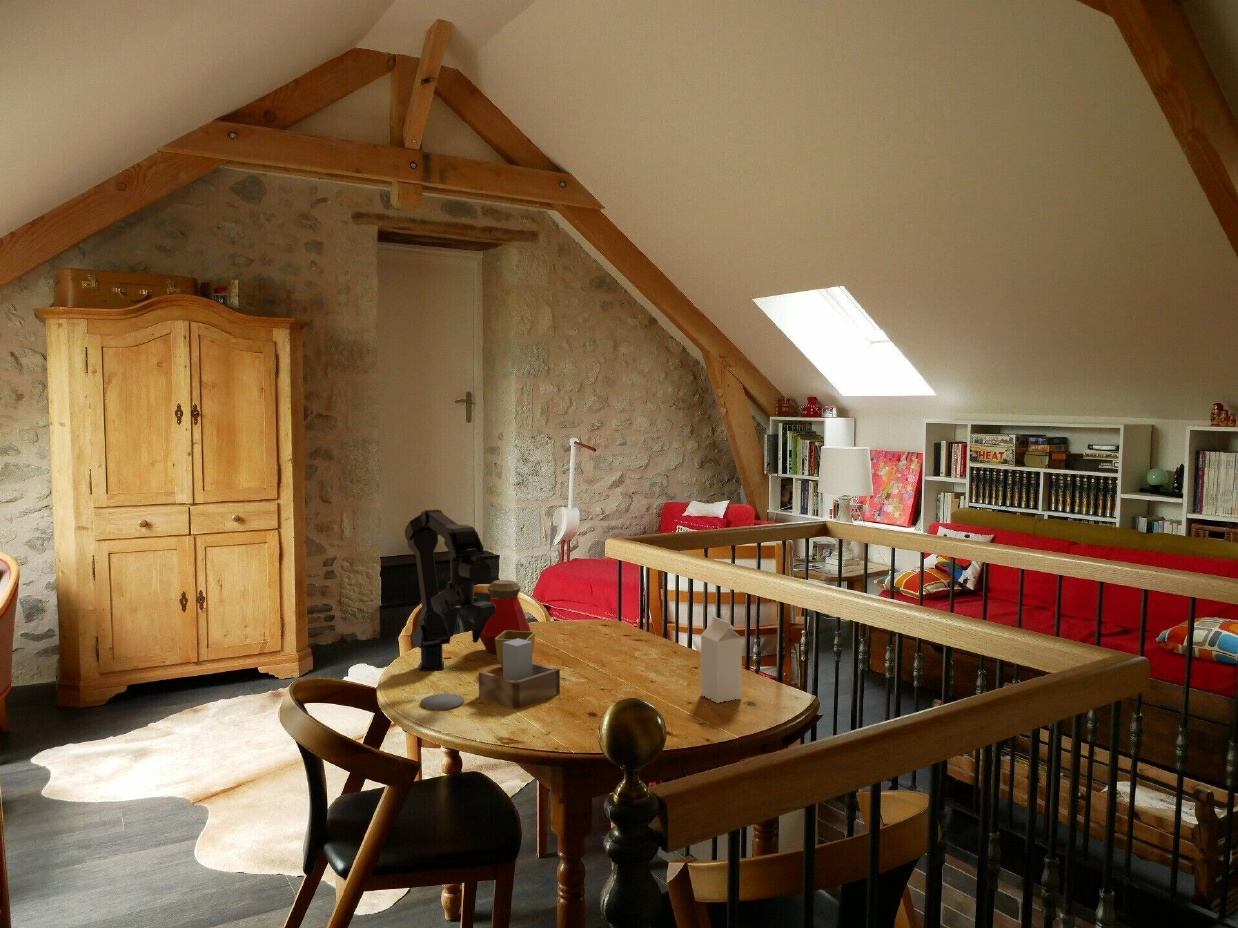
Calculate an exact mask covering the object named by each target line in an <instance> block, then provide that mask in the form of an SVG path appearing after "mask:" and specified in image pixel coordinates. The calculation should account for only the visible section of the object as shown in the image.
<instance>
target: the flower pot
mask: <svg viewBox="0 0 1238 928" xmlns="http://www.w3.org/2000/svg"><path fill="white" fill-rule="evenodd" d="M535 637H536V631H530V632H526V631H504V632H503V633H501V634H500V635H499V636H498V637H496V638H495V645H496V652H497V655H496V657H497V660H498V663H499V664H500V667H502V669H503V642H506V641H510V640H514V639H518V638H519V639H523V640H527V641H531V642H532V654H533V652H534V646H535V639H536V638H535Z"/></svg>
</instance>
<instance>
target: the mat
mask: <svg viewBox="0 0 1238 928" xmlns="http://www.w3.org/2000/svg"><path fill="white" fill-rule="evenodd" d="M464 704H465V698H464V697H463V696H461V695H459V694H453V693H438V694H434V695H430V696H425V697H424V698H422V699H421V700H420V706H421V707H422V708H423V707H424V708H423V709H425V708H428V709H427V710H429V709H431V710H430V711H448V709H449V710H453V708H454V709H456V708H460V707H461V706H463V705H464Z"/></svg>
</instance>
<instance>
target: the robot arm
mask: <svg viewBox="0 0 1238 928" xmlns="http://www.w3.org/2000/svg"><path fill="white" fill-rule="evenodd" d="M439 536H440V537H442V538H443V540H444V542H443V544H444V546H445V547H446V549H447V550H448V552H449V553H448V554H447V558H449V564H450V566H449V567H450V568H449V569H450V571H449V572H450V574H449V575H450V581H447V582H446V584H445V589H444V590H442V591H439V585H438V576H437V570H436V569H437V568H436V562H435V554H434V552H435V549H436V547H437V545H438V542H439ZM404 537H405V539H406V543H407V546H408V548H409V549H410V551H411V552H412V553H413V555H414V557H415V560H416V561H415V563H416V568H417V569H416V570H417V576H418V584H419V586H418V587H419V593H420V601H421V602H420V603H421V607H422V609H421V611H420V614H419V616H418V618H417V627H416V630H415V631H414V634H413V635H412V641H413V642H412V643H413V645H414V646H415V647H417V648H418V649H420V662H419V666H418V667H419V668H418V670H419V671H436V670H444V669H445V660H444V659H443V658H444V657H443V653H444V652H443V645H448V644H450V641H451V638H452V637H454V634H455V630H456V626H457V618H458V614H459V613H458V612H459V609H460V610H465V611H467V614H468V615H469V616H468V617H467V620H468V621H469V622H470V624H471V636H472V642H473V643H474V644H476V643H478V642H479V640H480V635H481V633H482V631H483V629H484V627H485V625H486V623H487V621H488V620H489V618H490V617H492V615H494V614H496V606H495V605H494V603H491V602H489V601H485V600H482V601H479V598H478V596H475V586H478V585H482V584H485V583H486V582H488V580H489V578H490V577H491V574H492V568H491V566H490V564H489V563H488V562H487V561H486V560H484V555H485V552H484V545H483V543H482V541H481V539H480V537H479V534H478V532H477V530H476V529H475V527H473V526H471V525H468V524H459V523H457V522H455V521H454V520H453V519H451V518H450V517H448V516H447V515H446V514H444V513H443V511H442V510H441V509H437V508H436V509H426V510H423V511H421V512H420V514H419V515H418V516H416V517H414V518H413V519H411V520H410V521H409V522H408V524H407V525H406V526H405V529H404Z"/></svg>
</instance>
